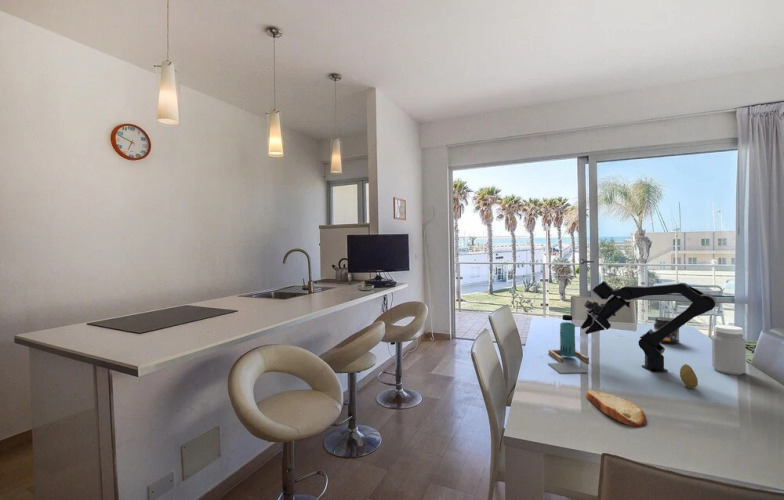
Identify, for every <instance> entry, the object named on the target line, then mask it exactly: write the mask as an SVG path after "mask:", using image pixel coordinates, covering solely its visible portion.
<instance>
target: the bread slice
mask: <svg viewBox="0 0 784 500" xmlns="http://www.w3.org/2000/svg"><path fill="white" fill-rule="evenodd" d="M585 398H586V399H587V400H588V401H589V403H591V404H592V405H593V406H594V407H595V408H596V409H598V410H599V411H600V412H602V413H604V414H605V415H606V416H608V417H610V418H611V419H612V420H613V419H614V420H615V421H617V422H619V423H621V424H623V425H626V426H629V427H633V428H642V427H645V426H646V425H647V415H646V414H645V412H644V411H643V409H642V408H641V407H640V406H638V405H637V404H635V403H634V402H632V401H630V400H627V399H623V398H622V397H618V396H616V395H613V394H609V393H606V392H603V391H596V390H588V391H587V392H586V394H585Z"/></svg>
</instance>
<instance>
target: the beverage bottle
mask: <svg viewBox="0 0 784 500" xmlns="http://www.w3.org/2000/svg"><path fill="white" fill-rule="evenodd" d="M562 320H563V321H562V322H560V324H559V326H560V327H559V335H560V336H559V339H560V340H559V350H560V351H561V355H560V356H562V357H568V358H574V357H576V356H575V355H576V354H575V353H576V352H575V350H576V351H577V349H576V324H575V323H574V322H572V321H573V315H572V314H562Z"/></svg>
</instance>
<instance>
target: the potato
mask: <svg viewBox="0 0 784 500" xmlns="http://www.w3.org/2000/svg"><path fill="white" fill-rule="evenodd" d="M679 377H680V379H681V381H682V383H683V384H684V385H685V386H686V387H687V388H688V389H694V388H696V387H697V386H698V384H699V381H698V376H697V374H696V373H695V371H694V370H693V368H692V367H691V366H690V365H689V364H683V365H682V366H681V367H680V370H679Z"/></svg>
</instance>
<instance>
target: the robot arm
mask: <svg viewBox="0 0 784 500" xmlns="http://www.w3.org/2000/svg"><path fill="white" fill-rule="evenodd" d="M591 291H592V292H593V293H594V294H595V295H596V296H597V297H598V298H599V299H600V300H605V301H606V302H605V303H600V304H599V302H596V301H594V300H593V301H591V300H588V299H586V301H585V303H584V305H583V306H584V307H585V308H586V309H587V311H586V318H585V320H584V321H583V323H582V325H581V326H580V329H582V330H584V329H586V330H585V331H584V333H585V334H586V335H589V334H592V333H593V334H594V333H597V332H600V331H605V330H606V331H607V330H609V329H610V328H611V324H612V323H610V322H609V320H610V319H611V318H612V317H615V316H616V315H617V313H618V312H619V311H620V310H621V309H623V308H624V307H626V308H627V309H630V308H631V301H630V300H634V299H640V298H642V297H648V296H662V295H664V296H665V295H672V294H673V295H674V294H680V295H682V296H683V297H684V298H686V299H687V300H688V301H689V302H692V303H691V304H690V305H689V306H688V307H687V308H686V309H685V310H683V311H682V312H681V313H679V314H678V315H676V316H675V317H674V319H672V320H671V321H670V322H668V323H667V324H666V325H664V326H663V327H661V328H660V329H659V330H656V331H654V330H653V329H652V328H650V329H649V330H648V331H647V332H646V333H643V334H642V335H641V336H639V340H638V346H639V348H640V349H641V350H642V351H643V353H644V364H642V365H641V367H642V368H644V369H646V370H648V371H650V372H652V373H653V372H654V373H657V372H661V373H662V372H669V371H668V369H666V368H665V356H664V353H665V350H666V348H665V347H664V346H663V345H661V344H662V343H661V342H662V340H663V339H664V338H665V337H667V336H668V335H670V334H671V333H673V332H674V331H675V330H677V329H678V328H679V329H680V328H681V327H683V326H684V325H685V324H687V323H688V322H690V321H691V320H692V319H694V318H695V317H698V316H700V315H704V314H706V313H708V312H710V311H712V310H713V309H714V308H715V307H716V306H717V303H718V301H717V298H716V297H715V296H714V295H712V294H710V293H704V292H702V291H700V290H699V289H697V288H694V287H693V286H690V285H689V284H688V283H686V282H679V283H669V284H661V285H647V286H643V285H642V286H641V285H631V284H630V285H629V284H628V285H626V286H623V287H620V288H613V287H612V286H611V285H609V284H608V282H606V281H605V280H604V281H602V282H600V283H599V284H598V285H596V286H595V287H594V288H593V289H592V290H591Z"/></svg>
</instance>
